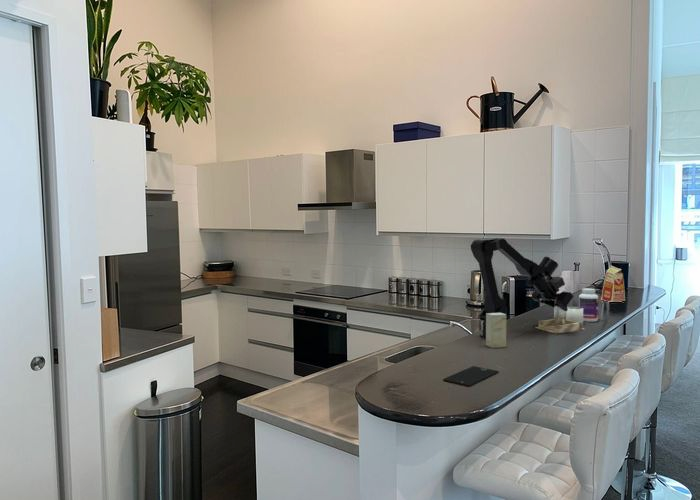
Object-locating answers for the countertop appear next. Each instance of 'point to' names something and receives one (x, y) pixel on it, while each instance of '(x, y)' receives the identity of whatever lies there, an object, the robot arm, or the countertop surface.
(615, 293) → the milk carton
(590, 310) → the pill bottle
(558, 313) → the cell
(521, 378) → the countertop surface
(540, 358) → the countertop surface
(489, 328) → the skincare box
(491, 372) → the cell phone
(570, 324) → the cradle
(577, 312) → the white rounded cylinder
